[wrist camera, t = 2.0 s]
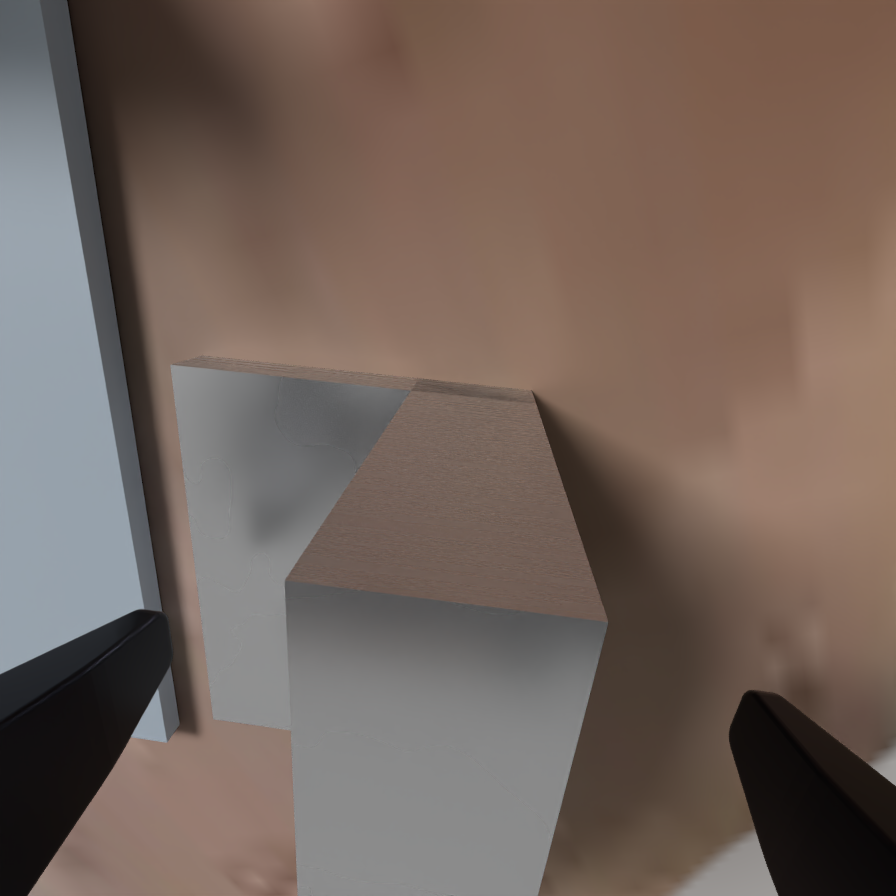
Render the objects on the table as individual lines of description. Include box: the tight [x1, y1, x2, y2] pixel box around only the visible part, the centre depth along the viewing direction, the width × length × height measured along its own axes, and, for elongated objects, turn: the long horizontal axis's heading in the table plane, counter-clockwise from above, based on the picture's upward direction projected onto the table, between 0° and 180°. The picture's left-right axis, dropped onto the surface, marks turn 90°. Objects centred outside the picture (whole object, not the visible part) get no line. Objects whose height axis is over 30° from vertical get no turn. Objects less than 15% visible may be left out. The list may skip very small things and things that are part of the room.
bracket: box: [171, 356, 608, 896], centre depth 7 cm, size 6×8×6 cm
